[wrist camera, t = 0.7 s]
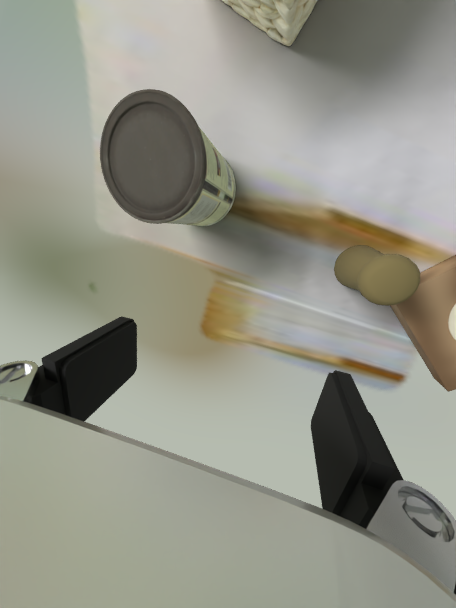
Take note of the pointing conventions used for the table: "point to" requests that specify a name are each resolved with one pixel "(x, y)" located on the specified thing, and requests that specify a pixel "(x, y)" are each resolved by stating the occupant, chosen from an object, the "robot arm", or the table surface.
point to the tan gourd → (377, 274)
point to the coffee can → (164, 163)
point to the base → (434, 320)
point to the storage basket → (275, 16)
